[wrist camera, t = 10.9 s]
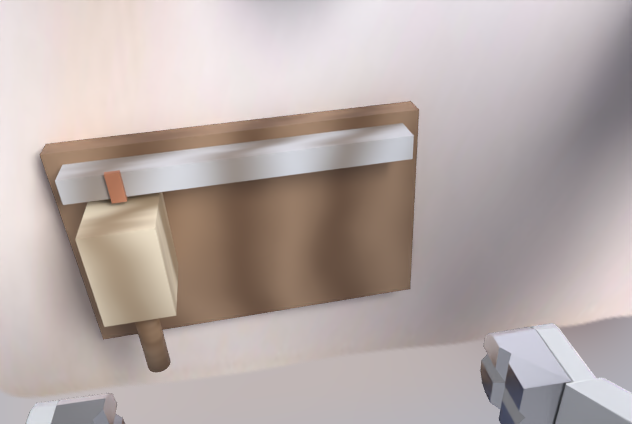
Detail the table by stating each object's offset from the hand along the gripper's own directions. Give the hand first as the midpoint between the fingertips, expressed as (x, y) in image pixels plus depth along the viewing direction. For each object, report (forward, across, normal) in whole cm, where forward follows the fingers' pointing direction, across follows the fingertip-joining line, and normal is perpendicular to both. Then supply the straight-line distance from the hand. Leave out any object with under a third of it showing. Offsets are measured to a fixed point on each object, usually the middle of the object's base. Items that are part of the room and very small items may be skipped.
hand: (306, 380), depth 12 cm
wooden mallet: (+21, +9, +11) cm, 26 cm away
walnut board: (+23, +2, +10) cm, 25 cm away
